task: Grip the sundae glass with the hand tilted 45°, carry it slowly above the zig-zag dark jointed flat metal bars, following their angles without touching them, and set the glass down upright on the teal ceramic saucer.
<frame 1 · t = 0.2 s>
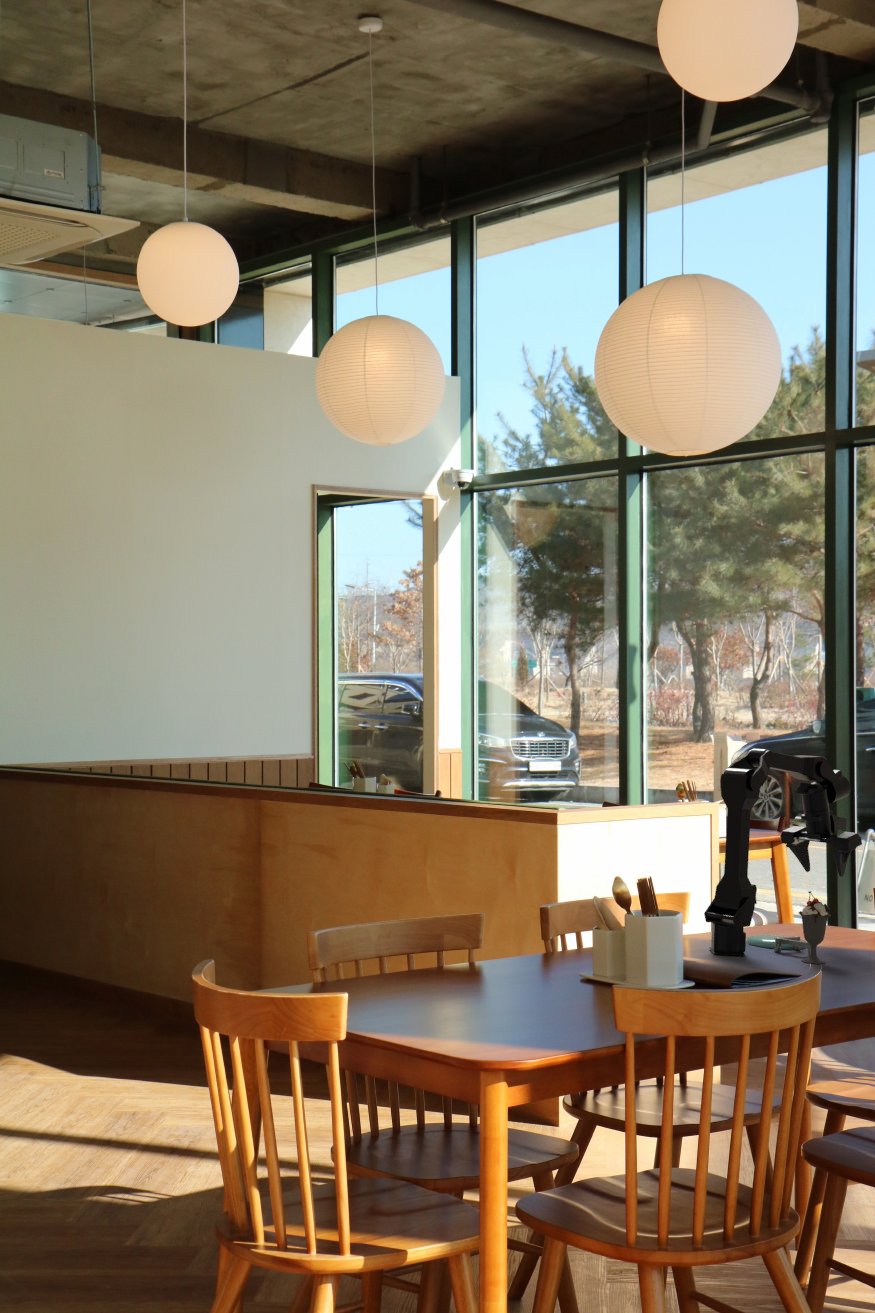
hand: (824, 874, 308), 16 cm above the table, tool pointing down, fingers open, 9 cm apart
jointed flat metal bars: (792, 953, 289), on the table
sundae: (813, 963, 280), on the table
saucer: (775, 944, 301), on the table
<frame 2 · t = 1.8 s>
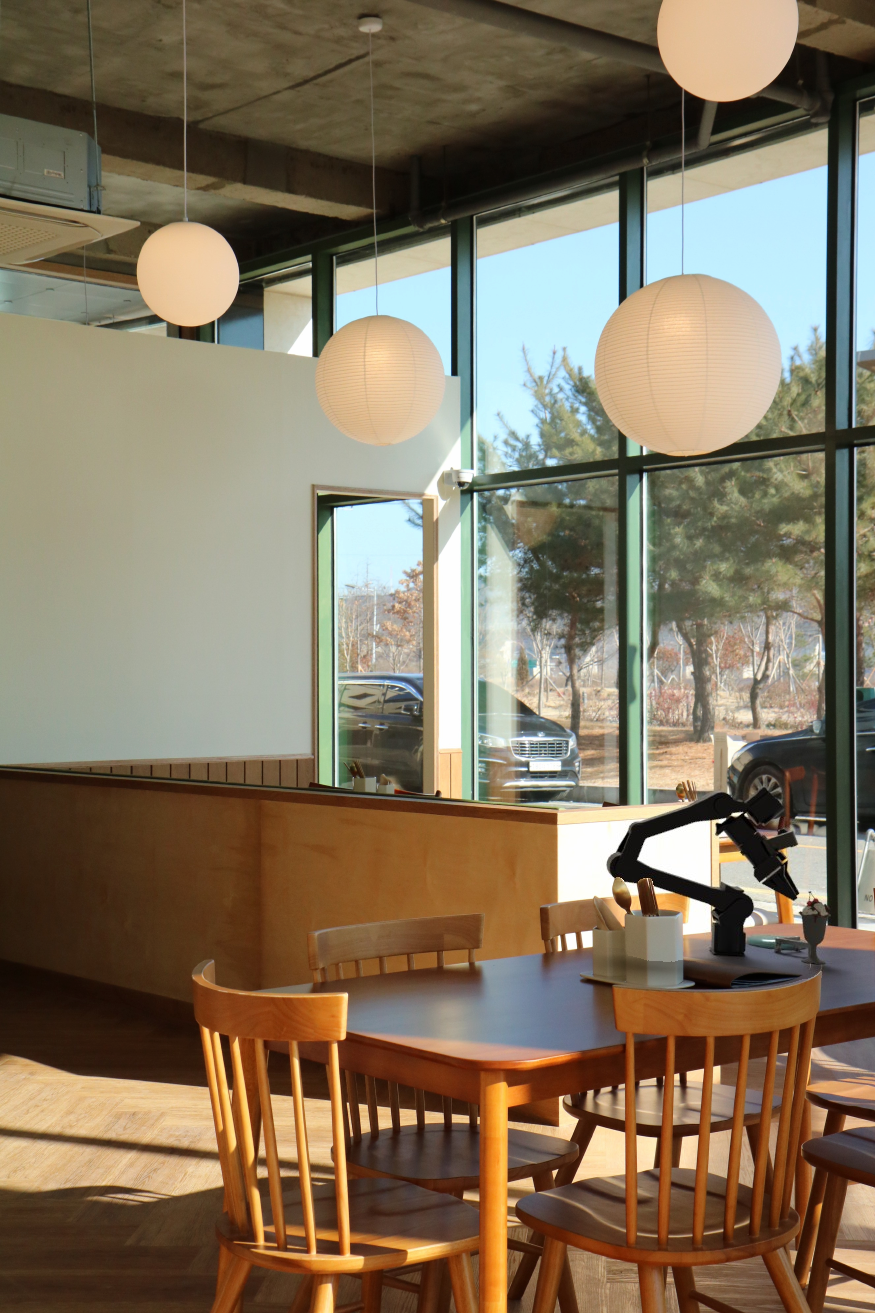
hand: (796, 897, 283), 13 cm above the table, tool tilted 40°, fingers open, 9 cm apart
nothing on the table moved.
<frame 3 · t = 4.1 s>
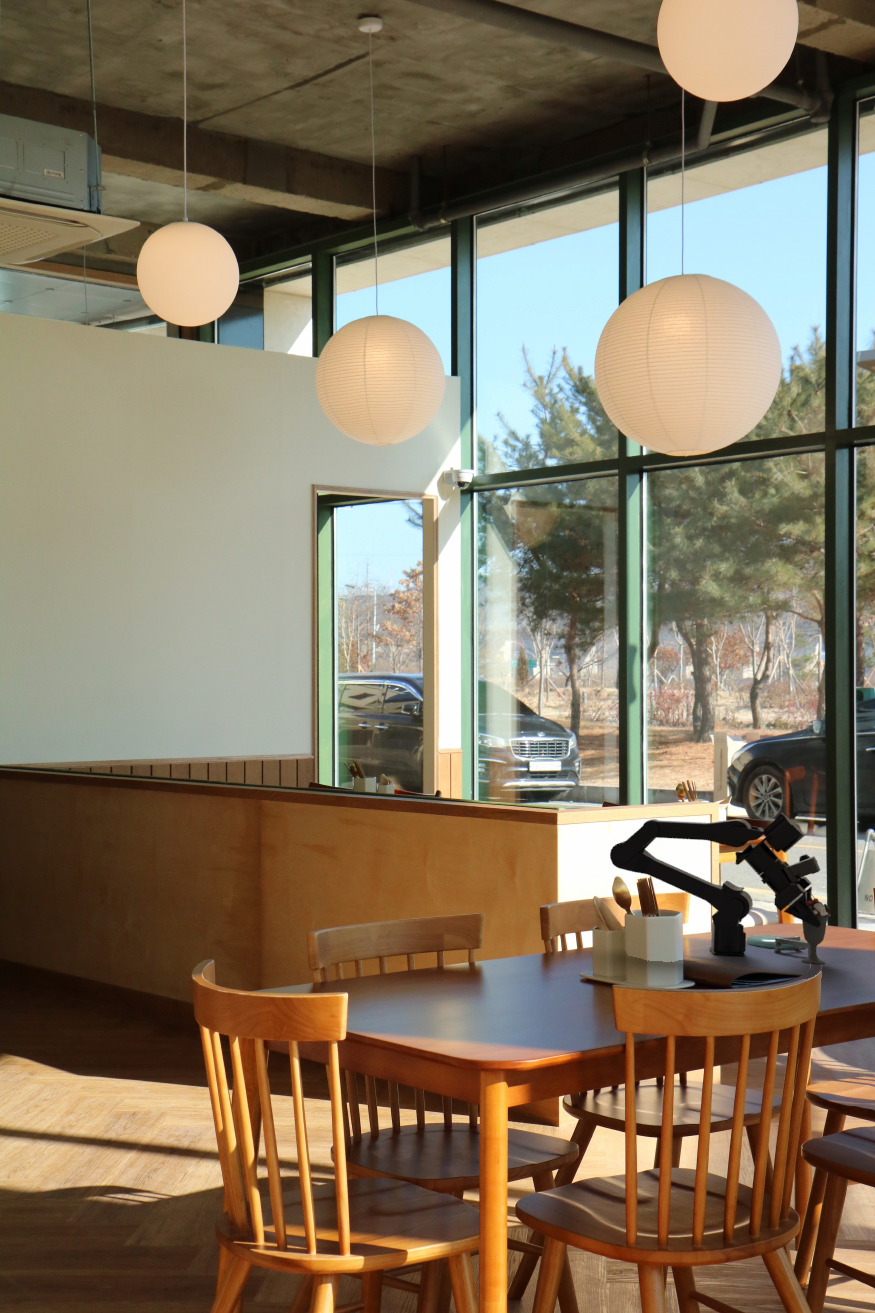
hand: (821, 924, 279), 8 cm above the table, tool tilted 45°, fingers closed on sundae, 7 cm apart
sundae: (813, 963, 280), on the table, touching gripper
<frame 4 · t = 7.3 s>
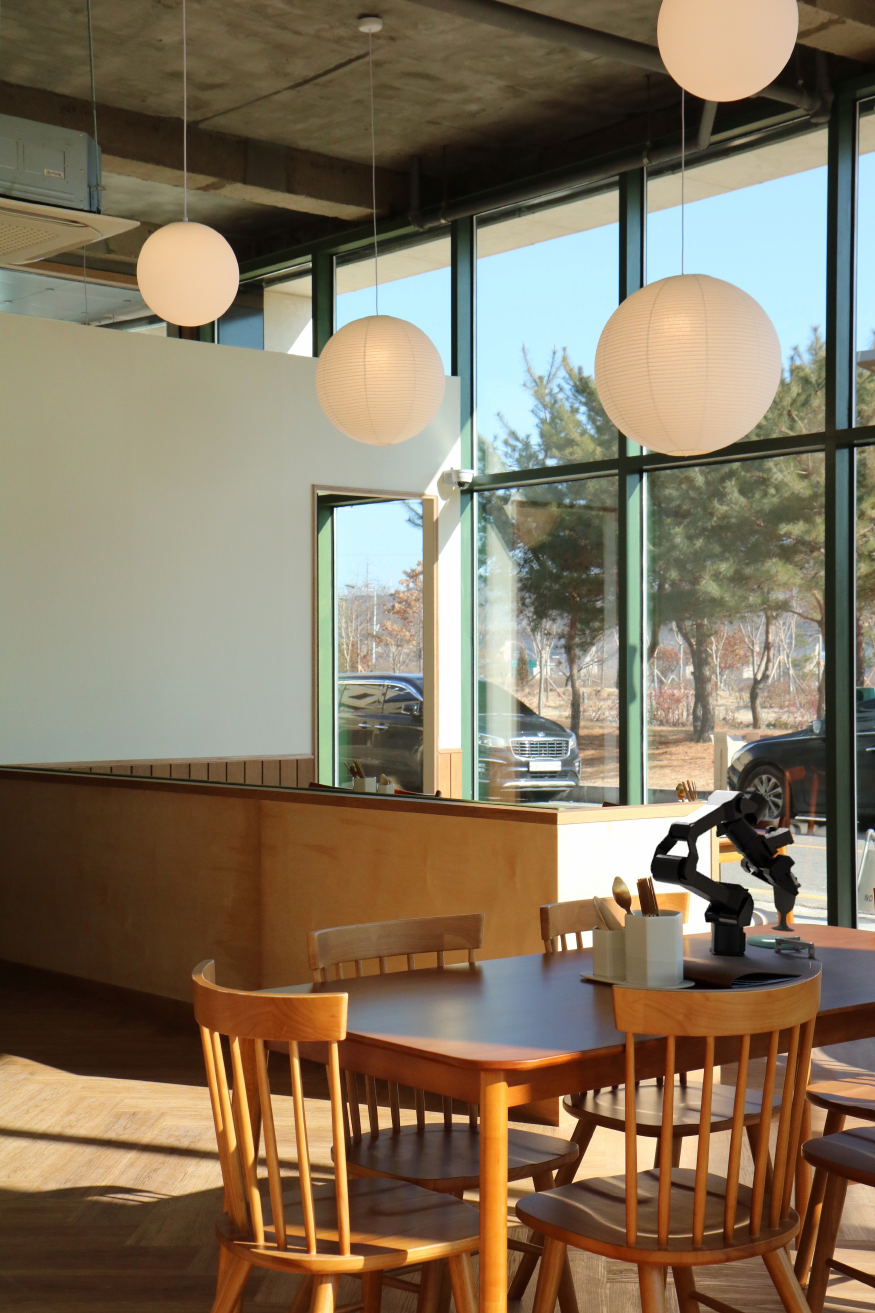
hand: (791, 892, 290), 13 cm above the table, tool tilted 45°, fingers closed on sundae, 7 cm apart
sundae: (782, 930, 289), point 5 cm above the table, touching gripper
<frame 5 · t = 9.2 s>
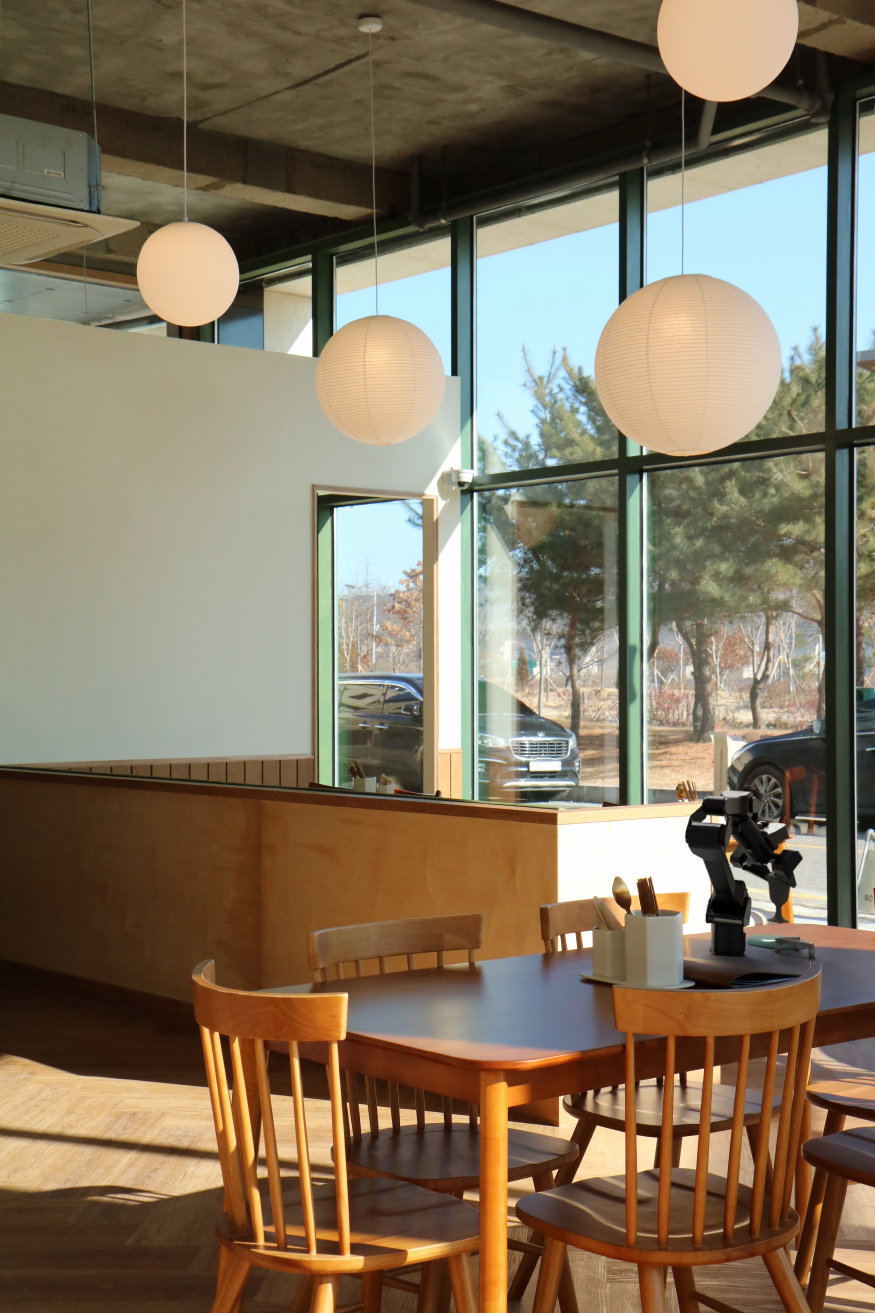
hand: (784, 884, 301), 13 cm above the table, tool tilted 45°, fingers closed on sundae, 7 cm apart
sundae: (778, 922, 300), point 5 cm above the table, touching gripper
when the fingers open (10 cm above the table, at t = 10.5 s): sundae stays where it is, resting on saucer.
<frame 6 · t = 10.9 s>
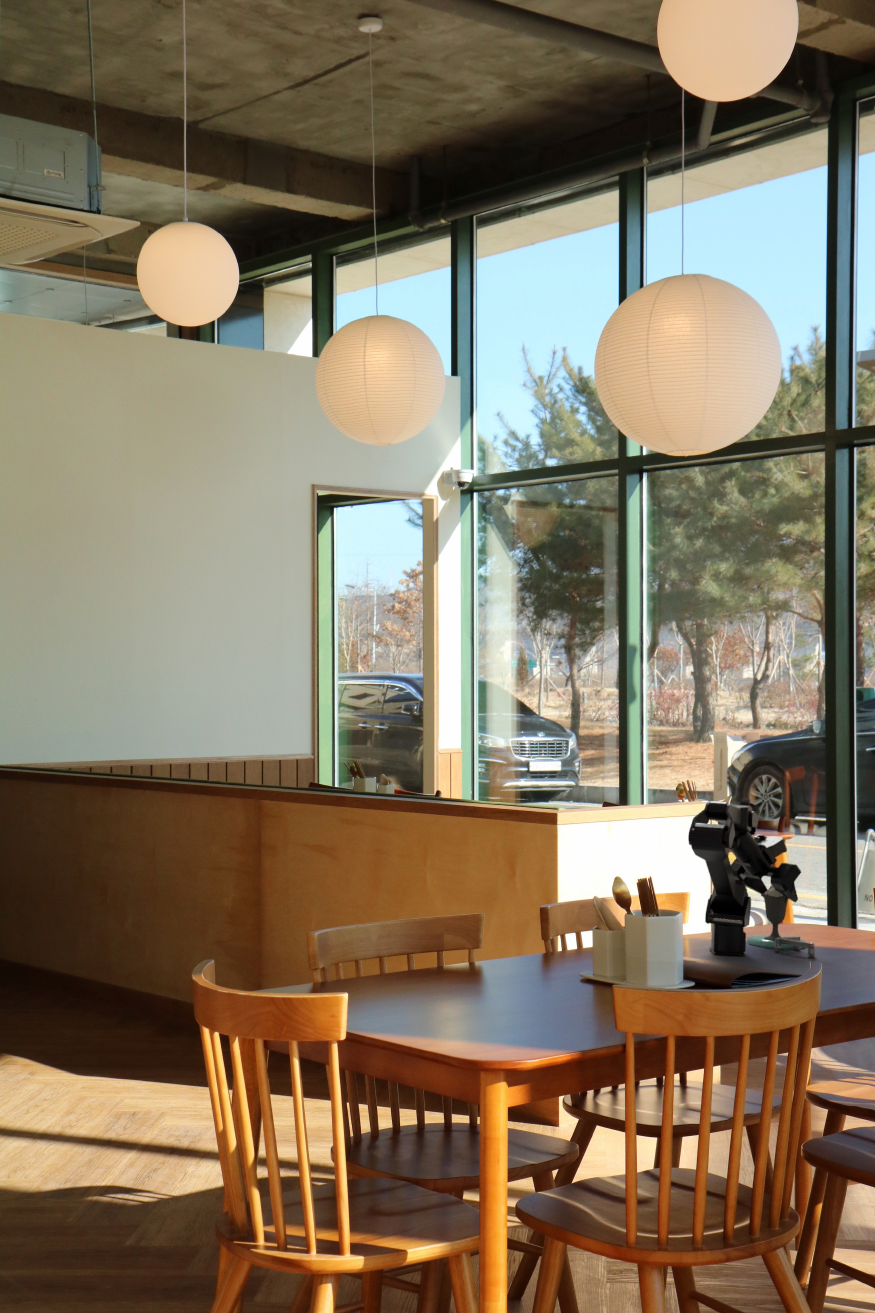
hand: (781, 898, 302), 10 cm above the table, tool tilted 45°, fingers open, 9 cm apart
sundae: (775, 940, 301), point 1 cm above the table, touching saucer
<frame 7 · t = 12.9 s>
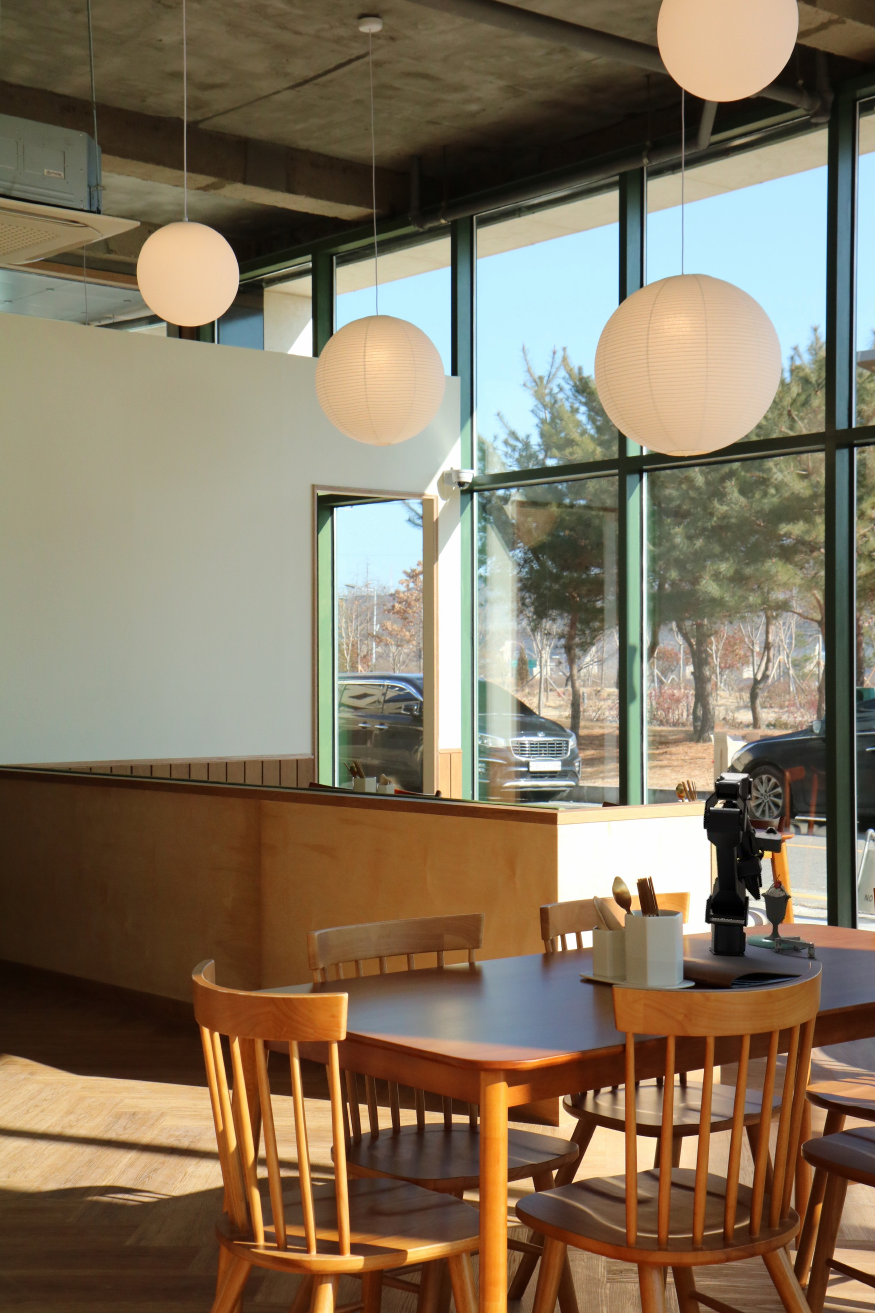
hand: (759, 893, 297), 12 cm above the table, tool tilted 20°, fingers open, 9 cm apart
nothing on the table moved.
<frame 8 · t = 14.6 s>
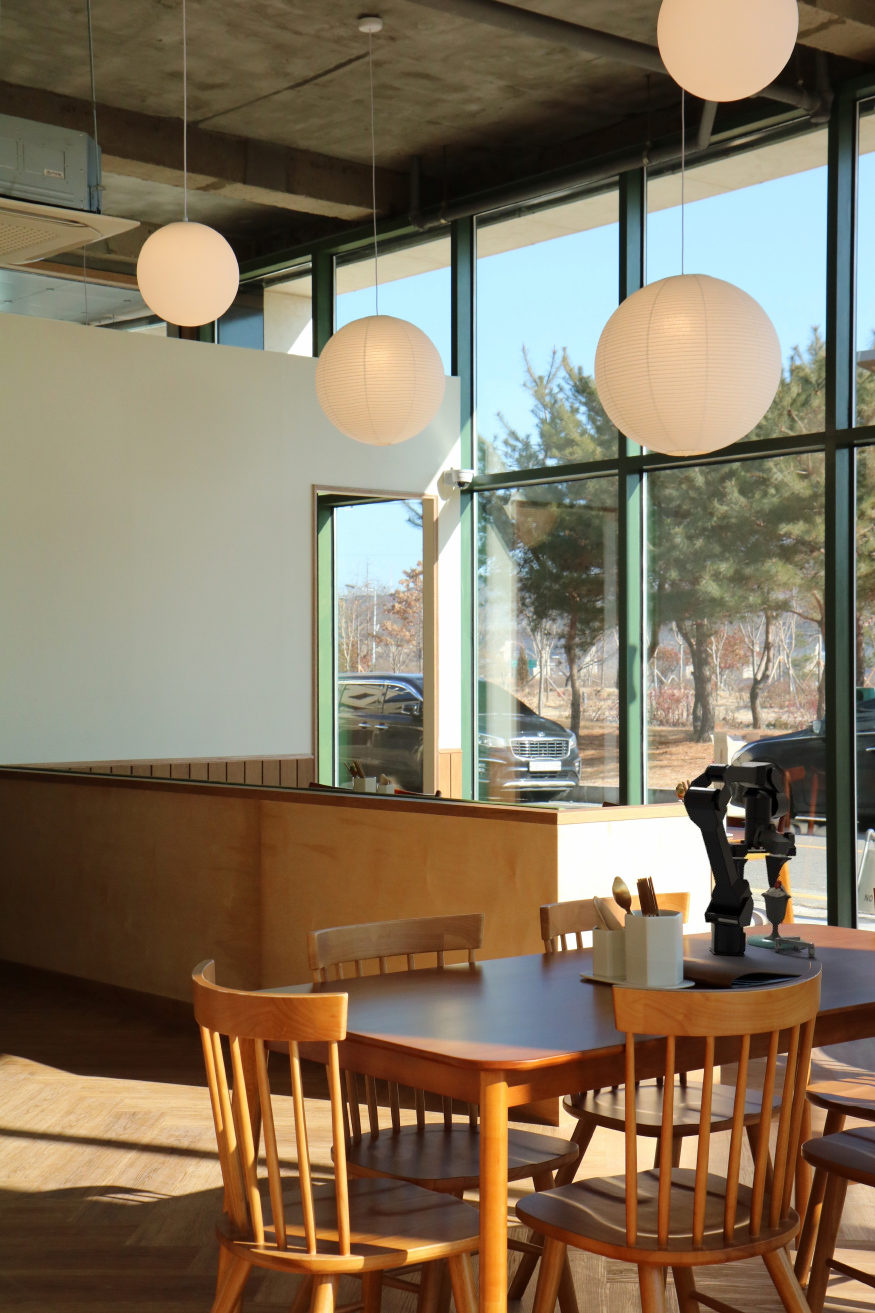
hand: (756, 888, 296), 13 cm above the table, tool pointing down, fingers open, 9 cm apart
nothing on the table moved.
at the end: sundae inside the target area on the saucer (0.2 cm from its centre), point 0.8 cm above the saucer's base; sundae tilted 0°; sundae touching saucer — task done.
